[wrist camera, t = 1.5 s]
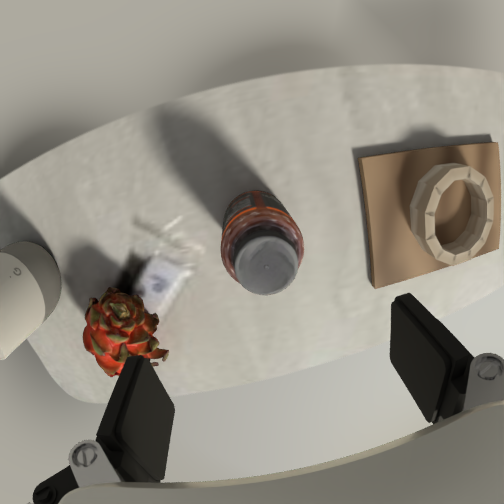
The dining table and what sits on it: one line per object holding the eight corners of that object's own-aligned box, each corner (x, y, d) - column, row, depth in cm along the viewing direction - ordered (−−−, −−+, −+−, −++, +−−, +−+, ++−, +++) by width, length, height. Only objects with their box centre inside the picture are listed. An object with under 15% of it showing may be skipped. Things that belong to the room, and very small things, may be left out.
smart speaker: (4, 270, 30) (-62, 324, 17) (26, 218, 28) (-56, 264, 15) (52, 318, 32) (-3, 388, 19) (81, 272, 30) (13, 344, 17)
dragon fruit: (130, 260, 32) (153, 339, 38) (61, 288, 27) (97, 365, 33) (161, 297, 26) (185, 381, 32) (74, 334, 21) (120, 413, 27)
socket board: (492, 142, 27) (514, 144, 23) (494, 246, 31) (512, 256, 28) (357, 157, 27) (374, 160, 24) (371, 284, 32) (386, 302, 29)
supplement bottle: (214, 236, 30) (202, 289, 19) (239, 179, 28) (239, 202, 17) (270, 258, 31) (287, 320, 20) (297, 205, 29) (330, 242, 18)
